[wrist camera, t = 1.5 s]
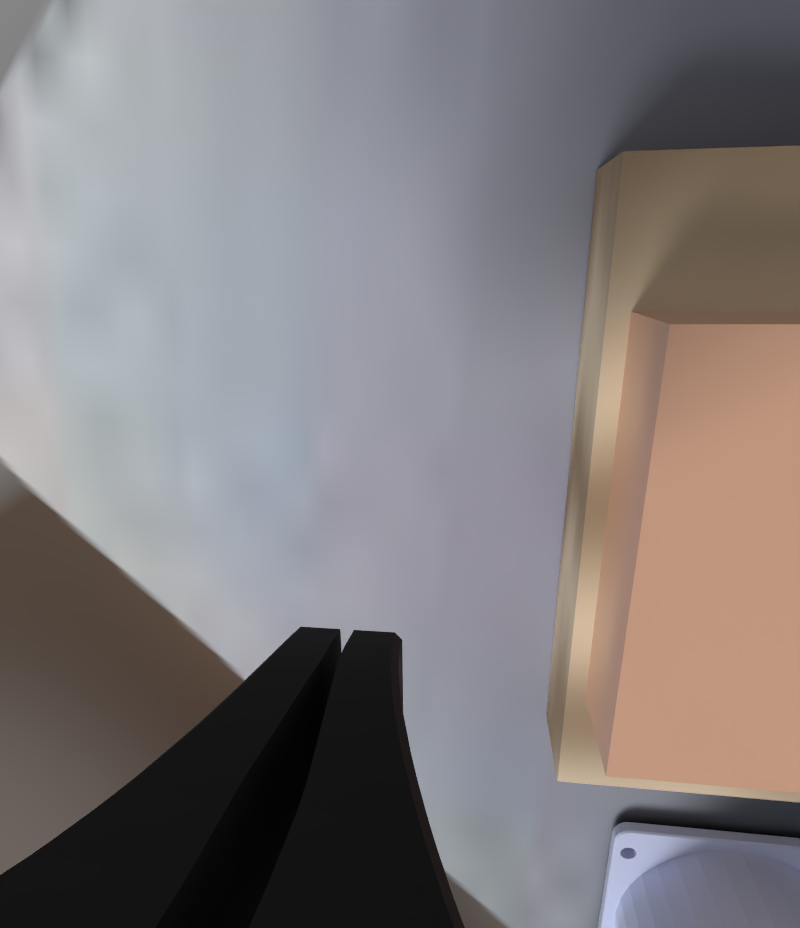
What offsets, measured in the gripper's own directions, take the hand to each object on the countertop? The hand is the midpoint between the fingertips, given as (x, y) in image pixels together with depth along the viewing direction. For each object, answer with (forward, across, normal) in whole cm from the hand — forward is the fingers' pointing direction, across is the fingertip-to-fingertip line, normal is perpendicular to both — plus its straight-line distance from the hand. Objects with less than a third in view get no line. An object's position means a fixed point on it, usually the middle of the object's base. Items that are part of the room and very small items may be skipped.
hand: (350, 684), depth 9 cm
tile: (+6, -8, 0) cm, 10 cm away
